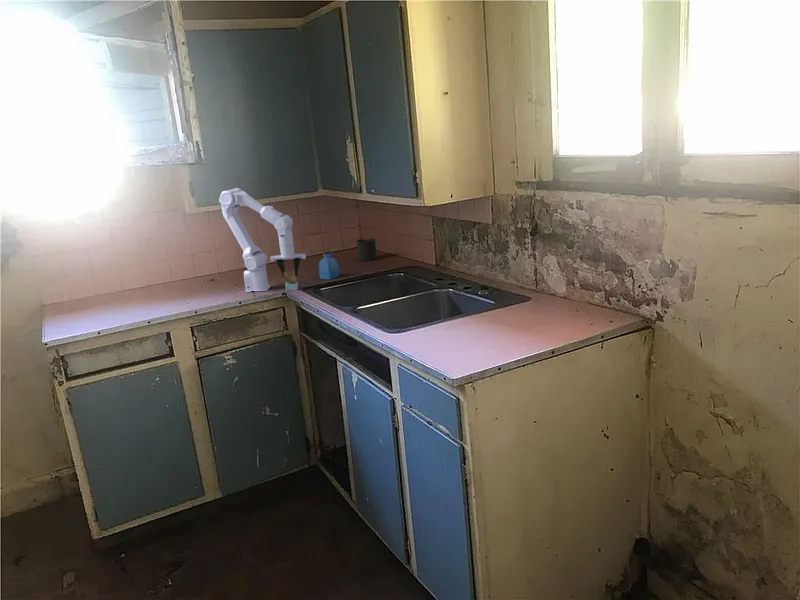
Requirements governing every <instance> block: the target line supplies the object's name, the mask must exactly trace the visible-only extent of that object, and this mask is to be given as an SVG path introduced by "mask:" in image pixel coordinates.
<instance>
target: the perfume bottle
mask: <svg viewBox="0 0 800 600" xmlns="http://www.w3.org/2000/svg"><path fill="white" fill-rule="evenodd" d="M322 255H323V258H321V259H320V261H319V263H318V273H319V278H320V279H323V280H324V279H325V280H333V279H335V278H337V277H340V270H339V262H338V261H337V259H335V257H331V256H332V253H331V250H323V254H322Z"/></svg>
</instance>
